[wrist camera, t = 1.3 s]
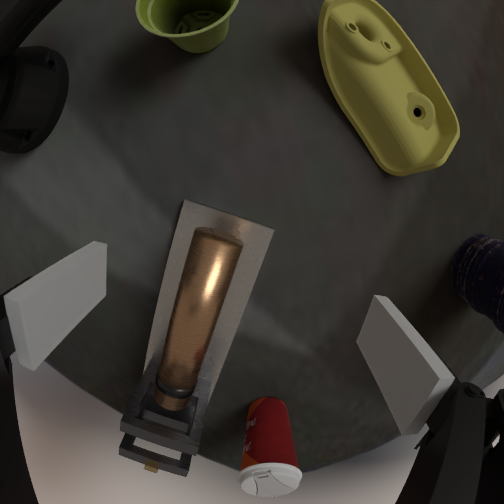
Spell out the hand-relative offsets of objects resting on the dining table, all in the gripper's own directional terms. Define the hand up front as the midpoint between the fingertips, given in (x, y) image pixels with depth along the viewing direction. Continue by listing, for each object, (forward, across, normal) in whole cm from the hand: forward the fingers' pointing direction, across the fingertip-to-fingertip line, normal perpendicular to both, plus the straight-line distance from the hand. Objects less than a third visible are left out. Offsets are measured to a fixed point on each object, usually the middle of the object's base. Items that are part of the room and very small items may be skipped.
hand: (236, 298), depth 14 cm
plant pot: (+20, -9, +20) cm, 30 cm away
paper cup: (+19, +8, -27) cm, 34 cm away
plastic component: (+20, +12, +19) cm, 30 cm away
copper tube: (+15, -3, -10) cm, 18 cm away
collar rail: (+19, -4, -16) cm, 25 cm away
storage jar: (+19, +32, +1) cm, 38 cm away
